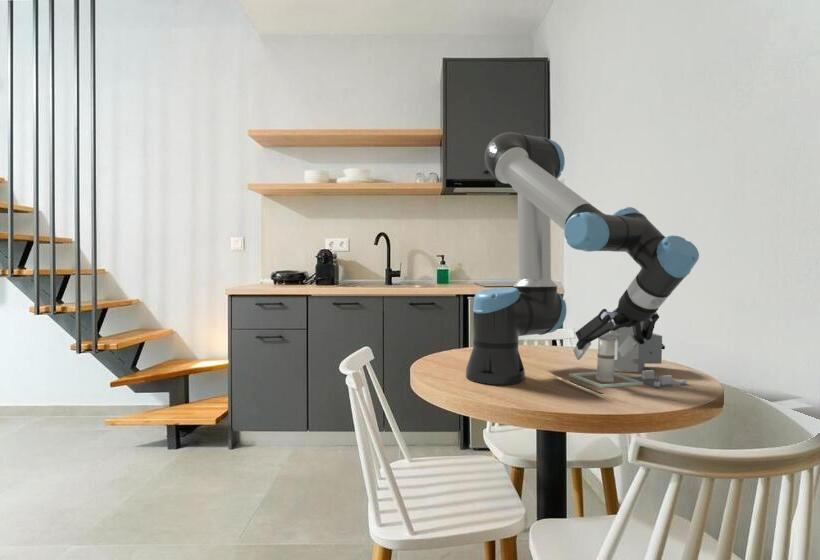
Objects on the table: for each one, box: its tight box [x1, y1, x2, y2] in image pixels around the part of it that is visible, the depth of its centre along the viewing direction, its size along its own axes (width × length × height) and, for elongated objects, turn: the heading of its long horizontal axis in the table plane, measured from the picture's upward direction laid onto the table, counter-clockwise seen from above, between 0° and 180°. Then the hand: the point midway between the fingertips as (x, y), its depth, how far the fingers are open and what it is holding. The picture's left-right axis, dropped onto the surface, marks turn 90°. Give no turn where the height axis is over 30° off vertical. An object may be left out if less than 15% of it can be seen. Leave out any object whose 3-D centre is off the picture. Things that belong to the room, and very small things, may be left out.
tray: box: [568, 371, 644, 395], centre depth 115 cm, size 12×12×2 cm
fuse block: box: [628, 369, 690, 389], centre depth 114 cm, size 10×10×4 cm
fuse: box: [595, 333, 616, 383], centre depth 115 cm, size 4×4×12 cm
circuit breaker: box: [608, 319, 666, 373], centre depth 128 cm, size 8×14×15 cm, turn 89°
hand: (599, 354), depth 118 cm, fingers open, 12 cm apart
